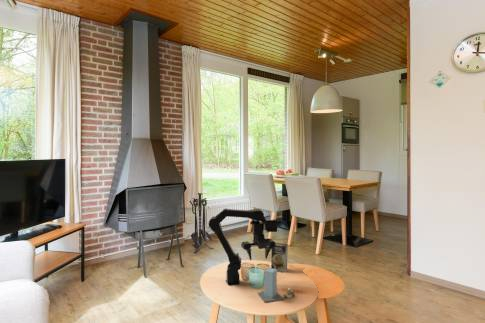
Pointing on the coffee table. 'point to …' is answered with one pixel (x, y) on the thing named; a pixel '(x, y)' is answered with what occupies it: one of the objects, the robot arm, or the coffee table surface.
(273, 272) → the slate block
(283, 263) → the coffee box
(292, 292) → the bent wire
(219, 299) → the coffee table surface
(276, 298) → the rubber mat
